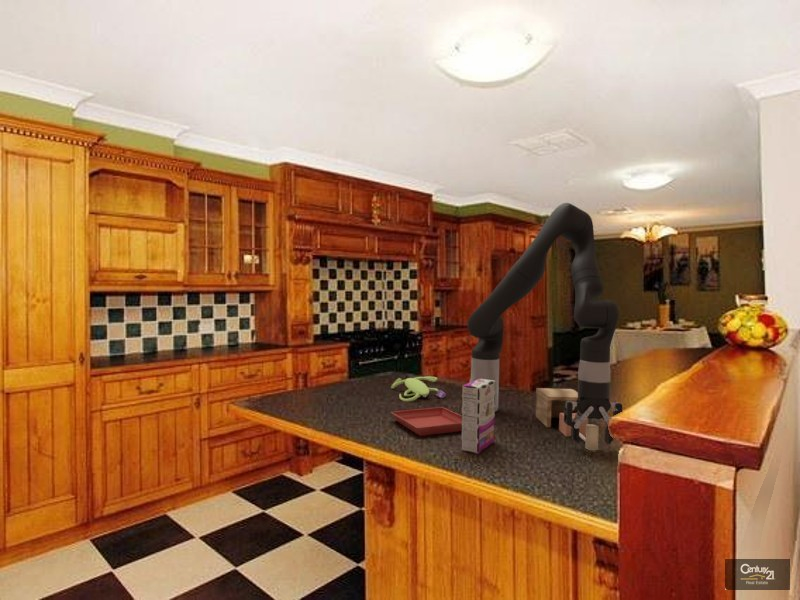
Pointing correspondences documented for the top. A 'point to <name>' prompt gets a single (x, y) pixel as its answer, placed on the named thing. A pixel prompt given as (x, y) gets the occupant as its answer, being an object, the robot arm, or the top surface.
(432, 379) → the figurine
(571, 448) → the top surface
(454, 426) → the plant saucer
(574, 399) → the shelf cubby
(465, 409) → the candy bar box
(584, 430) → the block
